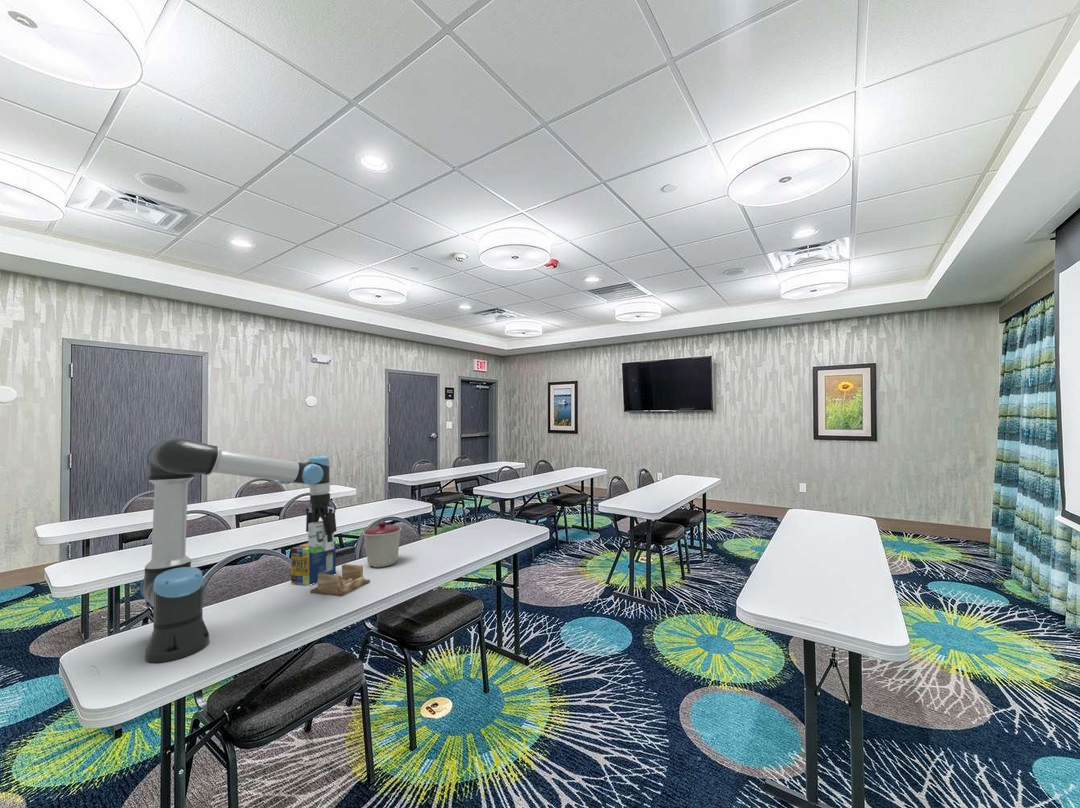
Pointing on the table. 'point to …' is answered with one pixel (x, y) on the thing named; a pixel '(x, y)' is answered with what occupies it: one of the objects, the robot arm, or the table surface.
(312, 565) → the protein box
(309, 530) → the ink box
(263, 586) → the table surface
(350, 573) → the peg frame
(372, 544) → the canister
